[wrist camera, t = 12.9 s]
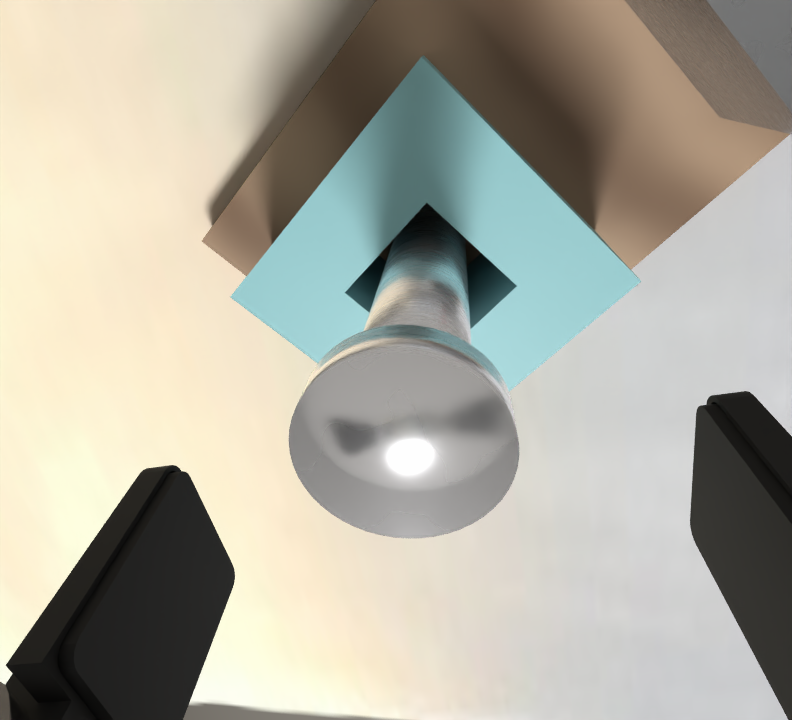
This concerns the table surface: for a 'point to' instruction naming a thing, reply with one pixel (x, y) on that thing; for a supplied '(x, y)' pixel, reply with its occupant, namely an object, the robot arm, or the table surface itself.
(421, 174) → the teal socket
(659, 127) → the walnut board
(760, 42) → the plate
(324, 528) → the table surface
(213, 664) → the table surface
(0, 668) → the table surface
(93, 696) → the robot arm
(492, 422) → the lock pin
